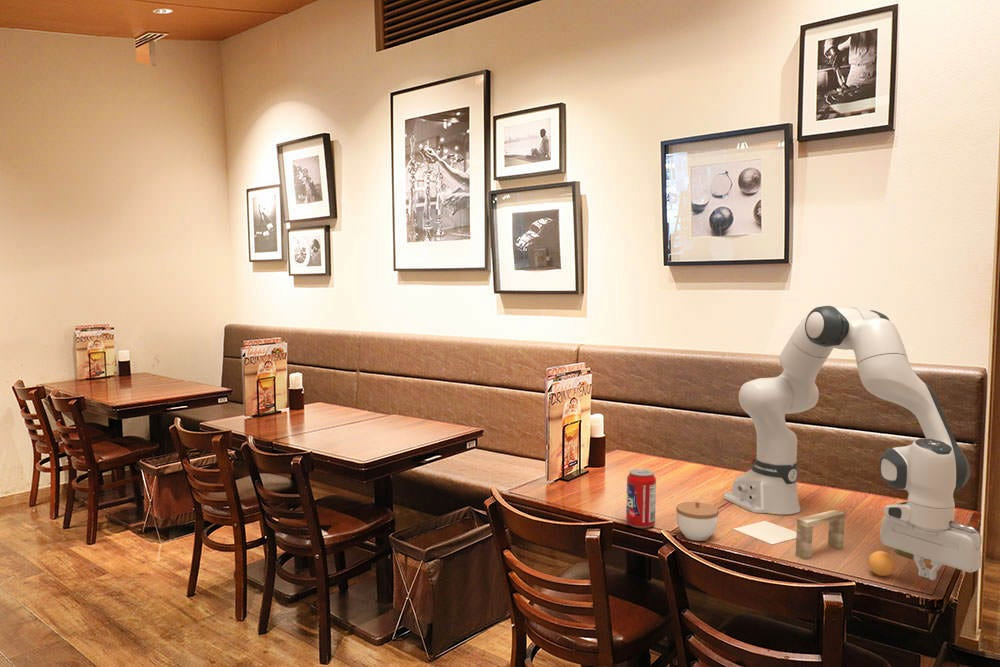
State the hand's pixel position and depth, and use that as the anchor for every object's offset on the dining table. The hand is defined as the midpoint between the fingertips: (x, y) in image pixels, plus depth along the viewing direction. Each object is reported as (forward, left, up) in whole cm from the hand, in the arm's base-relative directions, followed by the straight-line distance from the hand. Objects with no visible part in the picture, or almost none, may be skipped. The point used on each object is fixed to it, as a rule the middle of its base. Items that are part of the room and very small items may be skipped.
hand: (927, 577), depth 159 cm
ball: (-10, 0, -1) cm, 10 cm away
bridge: (-26, 0, -3) cm, 26 cm away
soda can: (-63, -26, -3) cm, 69 cm away
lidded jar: (-49, -19, -4) cm, 53 cm away
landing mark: (-42, 0, -3) cm, 42 cm away
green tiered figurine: (-14, +19, -4) cm, 24 cm away
